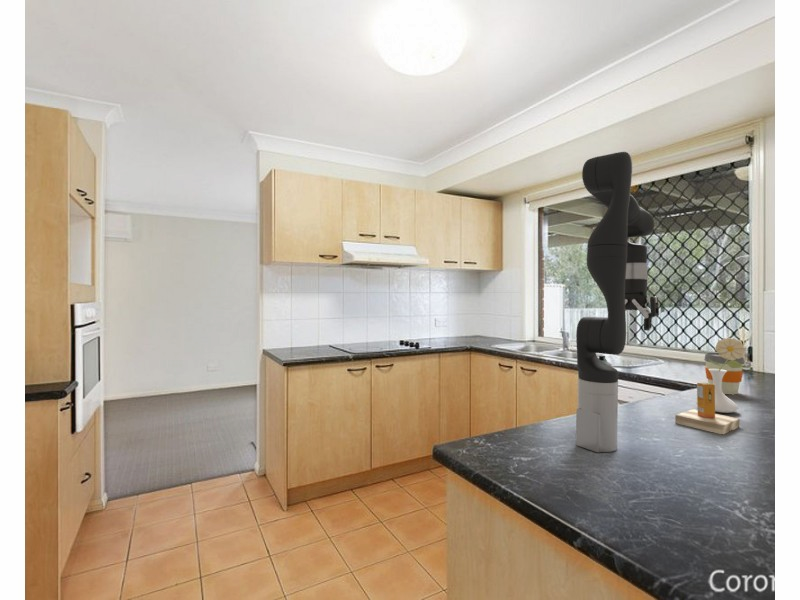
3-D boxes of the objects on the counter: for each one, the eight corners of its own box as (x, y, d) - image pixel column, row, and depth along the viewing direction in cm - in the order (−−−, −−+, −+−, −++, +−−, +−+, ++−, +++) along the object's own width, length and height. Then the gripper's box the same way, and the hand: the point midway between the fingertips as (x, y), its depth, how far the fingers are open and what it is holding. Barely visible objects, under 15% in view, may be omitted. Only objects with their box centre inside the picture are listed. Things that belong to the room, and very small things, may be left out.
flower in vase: (692, 410, 139) (693, 336, 138) (700, 404, 146) (701, 334, 146) (741, 419, 129) (743, 339, 129) (747, 412, 137) (749, 337, 136)
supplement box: (707, 415, 125) (708, 382, 125) (715, 418, 121) (716, 384, 121) (696, 414, 125) (696, 382, 125) (703, 418, 122) (704, 384, 121)
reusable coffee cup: (749, 393, 162) (750, 355, 162) (735, 397, 156) (735, 358, 156) (712, 387, 173) (713, 351, 173) (697, 390, 167) (698, 354, 167)
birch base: (722, 434, 115) (722, 425, 115) (675, 423, 125) (675, 414, 125) (739, 427, 121) (739, 418, 121) (693, 416, 131) (693, 408, 131)
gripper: (604, 278, 133) (604, 328, 133) (651, 277, 121) (650, 331, 121) (617, 278, 137) (616, 327, 137) (663, 277, 125) (662, 330, 125)
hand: (632, 329), depth 129 cm, fingers open, 8 cm apart
